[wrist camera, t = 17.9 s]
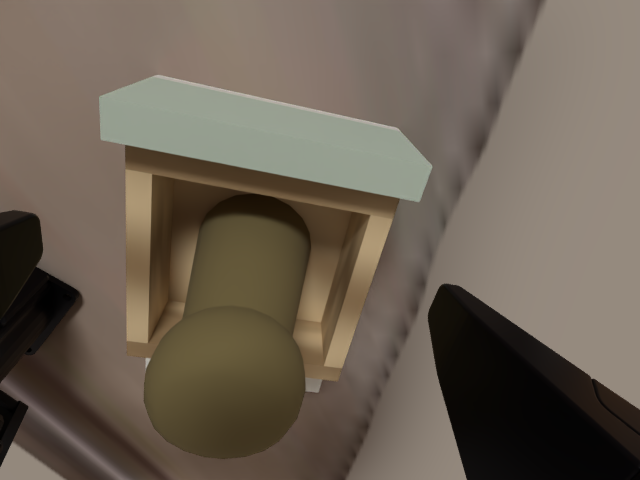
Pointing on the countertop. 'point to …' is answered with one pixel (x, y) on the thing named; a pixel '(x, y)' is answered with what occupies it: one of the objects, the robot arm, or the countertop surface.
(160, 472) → the countertop surface
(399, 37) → the countertop surface
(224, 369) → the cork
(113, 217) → the countertop surface
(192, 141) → the track and backstop
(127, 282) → the socket block
